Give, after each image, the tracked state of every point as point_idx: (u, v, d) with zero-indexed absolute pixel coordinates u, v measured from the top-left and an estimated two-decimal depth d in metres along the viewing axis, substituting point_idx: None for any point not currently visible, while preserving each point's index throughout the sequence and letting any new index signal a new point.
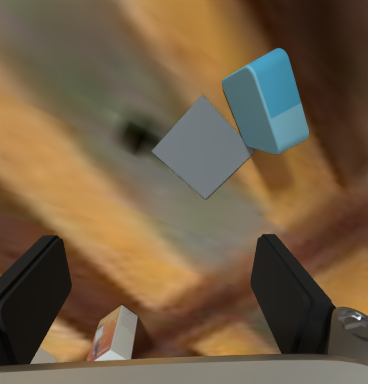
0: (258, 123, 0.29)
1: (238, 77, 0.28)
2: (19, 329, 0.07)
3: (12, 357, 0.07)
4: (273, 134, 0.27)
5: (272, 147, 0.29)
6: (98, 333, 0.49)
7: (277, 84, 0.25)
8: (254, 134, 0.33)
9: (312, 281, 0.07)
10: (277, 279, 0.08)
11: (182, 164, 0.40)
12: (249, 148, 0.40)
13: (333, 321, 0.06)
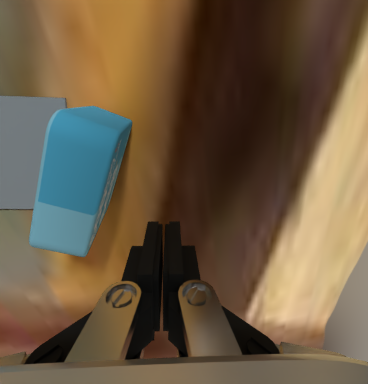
0: None
1: None
2: (159, 295, 0.08)
3: (156, 317, 0.08)
4: None
5: None
6: None
7: (73, 170, 0.15)
8: None
9: (179, 259, 0.08)
10: None
11: None
12: None
13: (181, 303, 0.06)
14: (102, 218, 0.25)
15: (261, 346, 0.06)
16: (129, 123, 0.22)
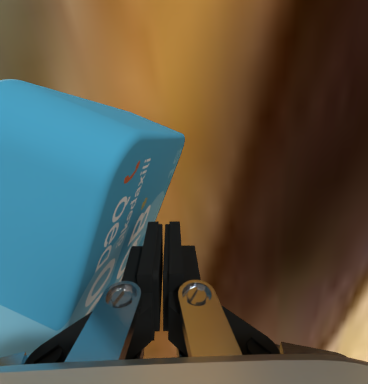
0: None
1: None
2: (159, 295, 0.08)
3: (156, 317, 0.08)
4: None
5: None
6: None
7: (15, 220, 0.06)
8: None
9: (180, 259, 0.08)
10: None
11: None
12: None
13: (181, 303, 0.06)
14: None
15: (261, 346, 0.06)
16: (178, 135, 0.13)
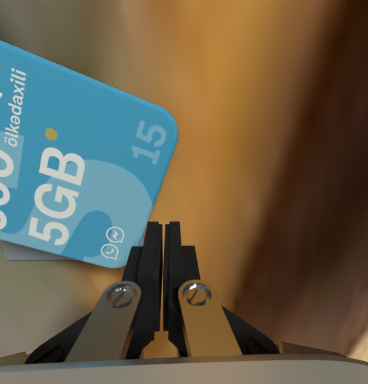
0: None
1: None
2: (159, 295, 0.08)
3: (156, 317, 0.08)
4: None
5: None
6: None
7: None
8: None
9: (180, 259, 0.08)
10: None
11: None
12: None
13: (181, 303, 0.06)
14: (61, 249, 0.15)
15: (261, 346, 0.06)
16: (116, 90, 0.12)
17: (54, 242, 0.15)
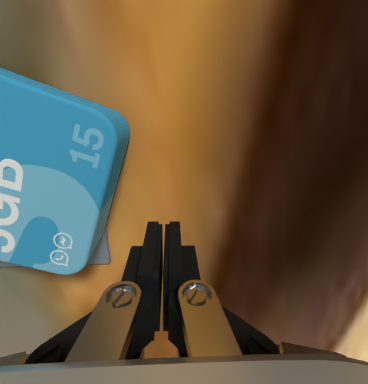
0: None
1: None
2: (159, 295, 0.08)
3: (156, 317, 0.08)
4: None
5: None
6: None
7: None
8: None
9: (180, 259, 0.08)
10: None
11: None
12: (105, 253, 0.20)
13: (181, 303, 0.06)
14: (9, 256, 0.15)
15: (261, 346, 0.06)
16: (47, 93, 0.11)
17: (1, 249, 0.14)
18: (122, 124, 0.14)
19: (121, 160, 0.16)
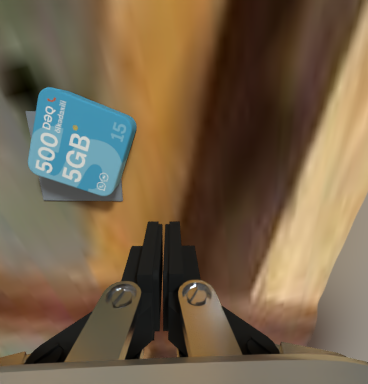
0: None
1: None
2: (159, 295, 0.08)
3: (156, 317, 0.08)
4: None
5: None
6: None
7: None
8: None
9: (180, 259, 0.08)
10: None
11: None
12: (120, 194, 0.36)
13: (181, 303, 0.06)
14: (77, 184, 0.31)
15: (261, 346, 0.06)
16: (103, 109, 0.28)
17: (74, 180, 0.31)
18: (133, 122, 0.31)
19: (132, 140, 0.32)
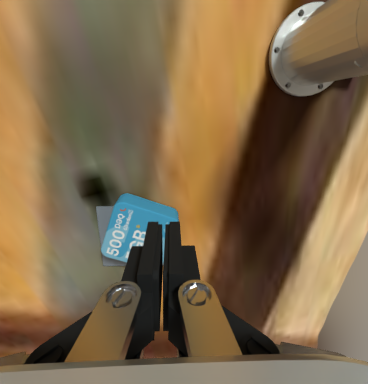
0: None
1: None
2: (159, 295, 0.08)
3: (156, 317, 0.08)
4: None
5: None
6: None
7: None
8: None
9: (180, 259, 0.08)
10: None
11: None
12: None
13: (181, 303, 0.06)
14: None
15: (261, 346, 0.06)
16: (159, 214, 0.38)
17: None
18: (177, 216, 0.41)
19: None
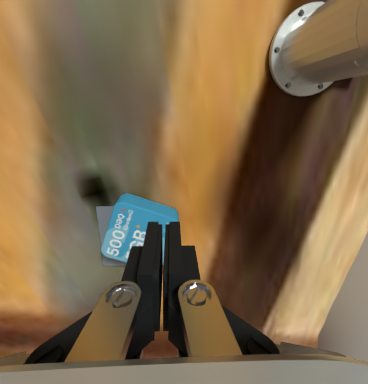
0: None
1: None
2: (159, 295, 0.08)
3: (156, 317, 0.08)
4: None
5: None
6: None
7: None
8: None
9: (179, 259, 0.08)
10: None
11: None
12: None
13: (181, 303, 0.06)
14: None
15: (261, 346, 0.06)
16: (159, 214, 0.38)
17: None
18: (177, 216, 0.41)
19: None
